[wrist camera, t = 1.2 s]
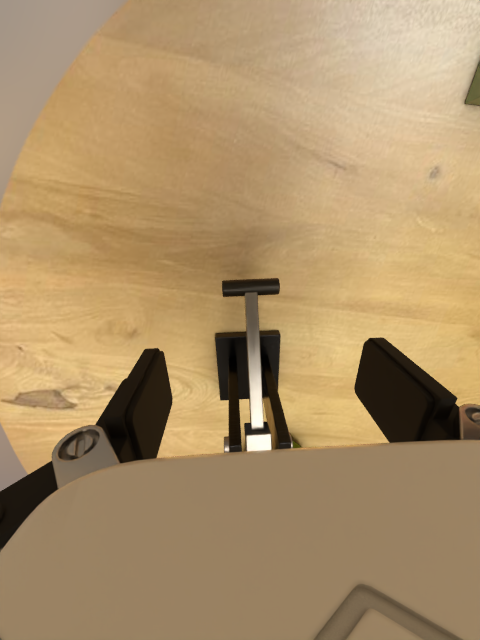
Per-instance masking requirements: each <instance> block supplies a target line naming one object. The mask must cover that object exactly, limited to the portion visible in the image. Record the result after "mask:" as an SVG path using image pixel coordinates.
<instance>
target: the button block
mask: <svg viewBox="0 0 480 640" xmlns="http://www.w3.org/2000/svg"><path fill="white" fill-rule="evenodd" d="M465 104H473V105H480V63H479V65H478V68H477V71H476V74H475V77H474V79H473V82H472V85H471V88H470V90H469V93H468V96H467V99H466V101H465Z"/></svg>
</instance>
